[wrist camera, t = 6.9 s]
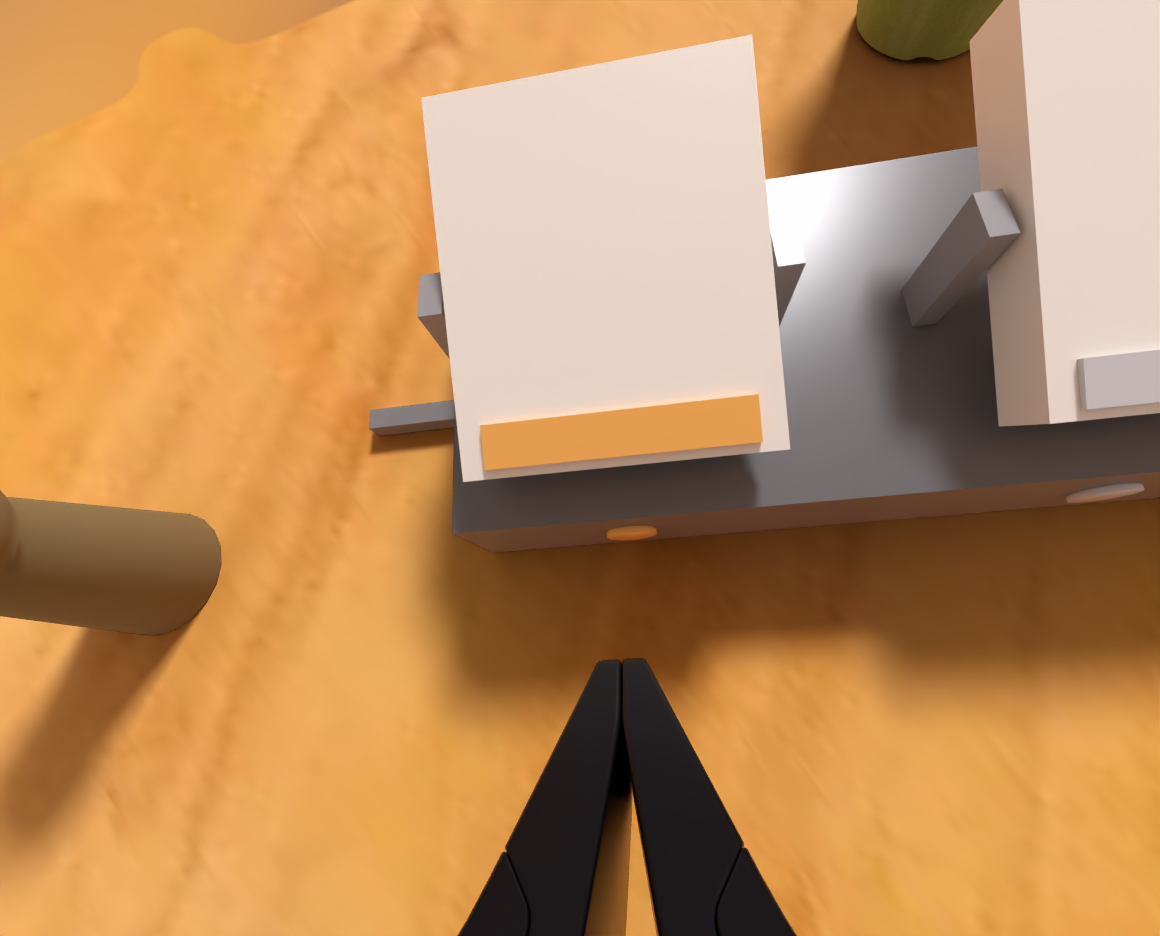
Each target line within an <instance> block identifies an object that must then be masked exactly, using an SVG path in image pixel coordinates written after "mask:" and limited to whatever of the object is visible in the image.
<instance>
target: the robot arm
mask: <svg viewBox="0 0 1160 936" xmlns="http://www.w3.org/2000/svg"><path fill="white" fill-rule="evenodd" d="M632 790H633V797H634V803H635V809H636V815H637V821H638V827H639V833H640V839H641V845H642V851H643V857H644V863H645V868H646V874H647V880H648V886H649V892H650V898H651V904H652V910H653V916H654V922H655V928H656V933H657V936H797V935H796V934H795V932H794V930H793V929H792V927H791V926H790V924H789V923H788V921H787V919H786V918H785V916H784V914H783V912H782V911H781V909H780V907H779V905H778V904H777V902H776V900H775V898H774V897H773V895H772V893H771V891H770V890H769V888H768V886H767V884H766V883H765V881H764V879H763V877H762V875H761V874H760V872H759V870H758V868H757V866H756V864H755V862H754V860H753V859H752V857H751V855H750V853H749V851H748V849H747V848H744V842H743V840H742V839H741V837H740V835H739V833H738V831H737V829H736V827H735V825H734V824H733V822H732V820H731V818H730V816H729V814H728V812H727V810H726V809H725V807H724V805H723V803H722V801H721V799H720V797H719V795H718V794H717V792H716V790H715V788H714V786H713V784H712V782H711V780H710V779H709V777H708V775H707V773H706V771H705V769H704V767H703V766H702V764H701V762H700V760H699V758H698V756H697V754H696V752H695V751H694V749H693V747H692V745H691V743H690V741H689V739H688V737H687V736H686V734H685V732H684V730H683V728H682V726H681V724H680V722H679V721H678V719H677V717H676V715H675V713H674V711H673V709H672V707H671V706H670V704H669V702H668V700H667V698H666V696H665V694H664V692H663V691H662V689H661V687H660V685H659V683H658V681H657V679H656V677H655V676H654V674H653V672H652V670H651V668H650V666H649V664H648V662H647V661H646V660H645V659H644V658H633V659H624V660H623V662H621V661H620V660H617V659H616V660H602V661H599V662H598V663H597V664H596V666H595V668H594V670H593V672H592V674H591V676H590V678H589V680H588V682H587V684H586V686H585V688H584V690H583V692H582V694H581V696H580V698H579V700H578V702H577V704H576V706H575V708H574V710H573V712H572V714H571V716H570V718H569V720H568V722H567V724H566V726H565V728H564V730H563V732H562V734H561V736H560V738H559V740H558V742H557V744H556V746H555V748H554V750H553V752H552V754H551V756H550V758H549V760H548V762H547V764H546V766H545V768H544V770H543V772H542V774H541V776H540V778H539V780H538V782H537V784H536V786H535V788H534V790H533V792H532V794H531V796H530V798H529V800H528V802H527V804H526V806H525V808H524V810H523V812H522V814H521V816H520V818H519V820H518V822H517V824H516V826H515V828H514V830H513V832H512V834H511V836H510V838H509V840H508V842H507V844H506V846H505V850H506V852H507V853H506V852H502V854H501V855H500V857H499V859H498V861H497V863H496V865H495V867H494V869H493V871H492V873H491V875H490V877H489V879H488V881H487V883H486V885H485V887H484V889H483V891H482V893H481V894H480V896H479V898H478V900H477V902H476V904H475V906H474V908H473V909H472V911H471V913H470V915H469V917H468V919H467V921H466V922H465V924H464V926H463V927H462V929H461V931H460V932H459V934H458V936H626V919H627V899H628V879H629V860H630V840H631V821H632Z"/></svg>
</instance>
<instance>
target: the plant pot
mask: <svg viewBox="0 0 1160 936" xmlns="http://www.w3.org/2000/svg"><path fill="white" fill-rule="evenodd" d="M1002 2H1003V0H858V4H857V29H858V31H859V33H860V34H861V36H862V37H863V39H864V40H865V41H866V42H867V43H868V44H869V45H870V46H871V47H873V48H874V49H876V50H877V51H879V52H881V53H883V54H885V55H888V56H890V57H893V58H897V59H902V60H911V59H914V58H917V57H930V58H933V59H935V60H943V59H947V58H951V57H954V56H957V55H959V54H961V53H964V52H966V51H968V50H969V49H970V43H969V41H970V40H971V39H972V38H973V37H974V35H975V34H976V33H977V32H978V31H979V29H980V28H981V27H982V26H983V24H984V23H985V22H986V21H987V20H988V18H989V17H990V16H991V15H992V14H993V12H994V11H995V10H996V9H997V8H998V6H999V5H1000V4H1001V3H1002Z"/></svg>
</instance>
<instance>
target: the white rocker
mask: <svg viewBox="0 0 1160 936" xmlns="http://www.w3.org/2000/svg"><path fill="white" fill-rule="evenodd" d="M969 43H970V56H971V69H972V82H973V95H974V109H975V122H976V135H977V148H978V161H979V174H980V188H981V192H983V191H989V190H996V189H1003V191H1004V194H1005V196H1006V198H1007V201H1008V203H1009V206H1010V208H1011V211H1012V213H1013V216H1014V218H1015V221H1016V223H1017V225H1018V228H1019V230H1020V234H1019V235H1018V236H1017V237H1016V238H1015V239H1014V240H1013V241H1012V243H1011V244H1010V245H1009V246H1008V247H1007V248H1006V249H1005V250H1004V251H1003V252H1002V253H1001V254H1000V255H999V257H998V258H997V259H996V260H995V261H994V262H993V263H992V264H991V265H990V266H989V267H988V268H987V280H988V293H989V306H990V319H991V332H992V346H993V359H994V372H995V385H996V398H997V411H998V425H999V426H1019V425H1038V424H1054V423H1064V422H1074V421H1084V420H1094V419H1104V418H1114V417H1124V416H1134V415H1144V414H1154V413H1160V0H1003V2H1002V3H1001V4H1000V5H999V6H998V8H997V9H996V10H995V11H994V12H993V14H992V15H991V16H990V17H989V18H988V20H987V21H986V22H985V23H984V24H983V26H982V27H981V28H980V29H979V31H978V32H977V33H976V34H975V35H974V37H973V38H972V39H971V40H970V41H969Z"/></svg>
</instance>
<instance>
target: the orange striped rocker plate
mask: <svg viewBox="0 0 1160 936" xmlns="http://www.w3.org/2000/svg"><path fill="white" fill-rule="evenodd" d="M421 101H422V110H423V119H424V128H425V137H426V147H427V156H428V165H429V174H430V183H431V192H432V202H433V211H434V220H435V229H436V238H437V247H438V257H439V266H440V275H441V284H442V293H443V302H444V311H445V321H446V330H447V339H448V348H449V357H450V366H451V376H452V385H453V394H454V403H455V412H456V421H457V431H458V440H459V449H460V458H461V467H462V476H463V482H468V481H478V480H488V479H498V478H508V477H518V476H528V475H538V474H548V473H558V472H568V471H578V470H588V469H598V468H608V467H619V466H629V465H639V464H649V463H659V462H669V461H679V460H689V459H699V458H709V457H719V456H729V455H739V454H749V453H759V452H769V451H779V450H789V449H790V440H789V429H788V418H787V407H786V396H785V385H784V375H783V364H782V353H781V342H780V331H779V320H778V310H777V299H776V288H775V277H774V266H773V255H772V245H771V234H770V223H769V212H768V201H767V190H766V179H765V169H764V158H763V147H762V136H761V125H760V114H759V104H758V93H757V82H756V71H755V60H754V49H753V39H752V35H747V36H742V37H737V38H732V39H726V40H721V41H716V42H711V43H706V44H700V45H695V46H690V47H685V48H679V49H674V50H669V51H664V52H658V53H653V54H648V55H643V56H637V57H632V58H627V59H622V60H616V61H611V62H606V63H601V64H596V65H590V66H585V67H580V68H575V69H569V70H564V71H559V72H554V73H548V74H543V75H538V76H533V77H527V78H522V79H517V80H512V81H507V82H501V83H496V84H491V85H486V86H480V87H475V88H470V89H465V90H459V91H454V92H449V93H444V94H438V95H433V96H428V97H423V98H421Z"/></svg>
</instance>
